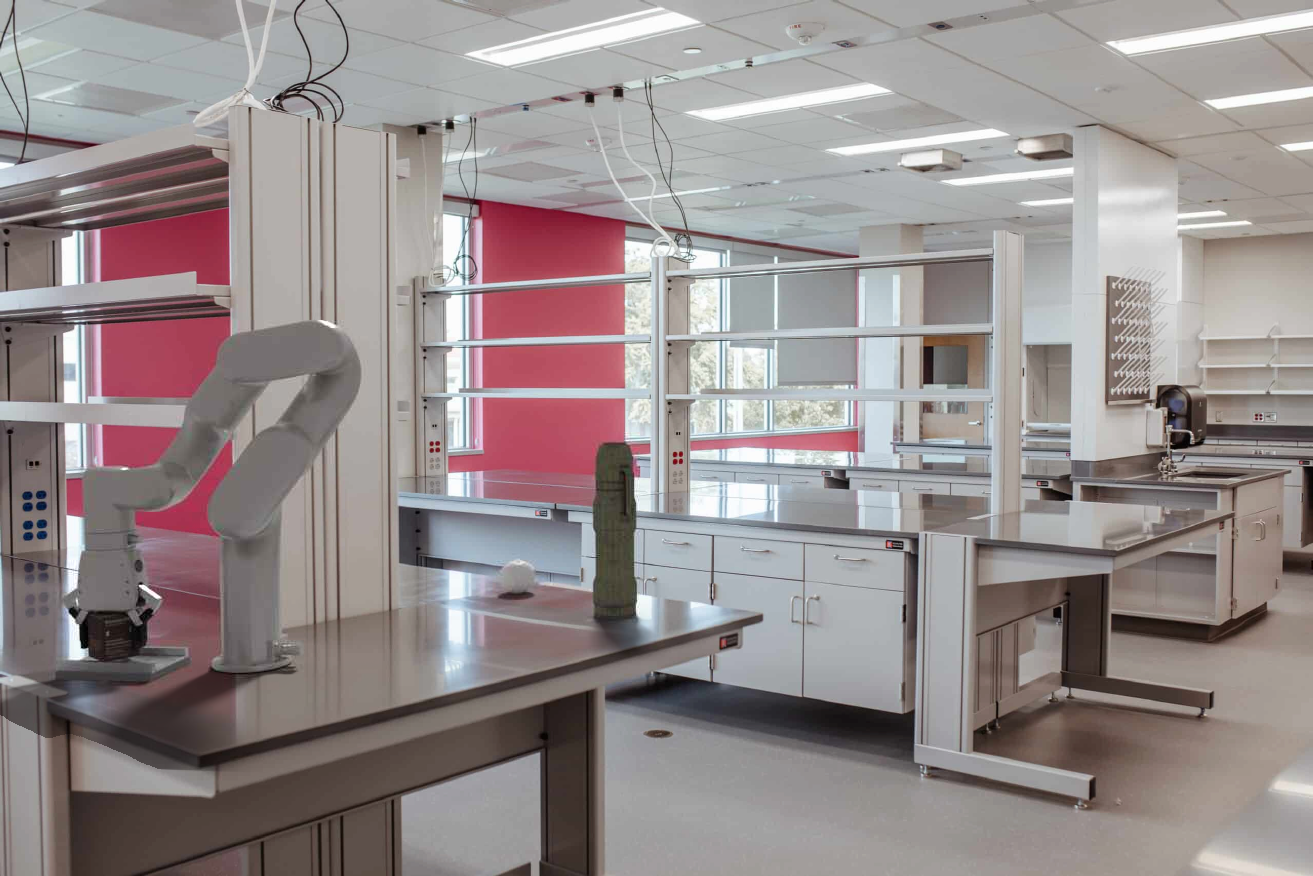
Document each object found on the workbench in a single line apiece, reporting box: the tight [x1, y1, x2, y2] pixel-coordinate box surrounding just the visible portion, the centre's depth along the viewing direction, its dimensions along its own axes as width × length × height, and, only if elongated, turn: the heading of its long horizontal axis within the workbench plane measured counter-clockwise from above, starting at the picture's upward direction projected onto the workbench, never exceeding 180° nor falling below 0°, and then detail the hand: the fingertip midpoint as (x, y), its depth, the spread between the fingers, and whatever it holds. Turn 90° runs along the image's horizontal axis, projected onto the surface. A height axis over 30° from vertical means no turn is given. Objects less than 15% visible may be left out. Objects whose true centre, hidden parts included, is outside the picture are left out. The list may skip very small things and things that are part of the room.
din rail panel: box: [54, 645, 191, 683], centre depth 181 cm, size 16×12×3 cm
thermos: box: [592, 441, 638, 620], centre depth 223 cm, size 9×12×35 cm
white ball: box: [499, 559, 536, 595], centre depth 247 cm, size 8×8×8 cm
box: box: [87, 612, 140, 661], centre depth 181 cm, size 6×6×7 cm
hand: (113, 647), depth 181 cm, fingers closed on box, 8 cm apart
